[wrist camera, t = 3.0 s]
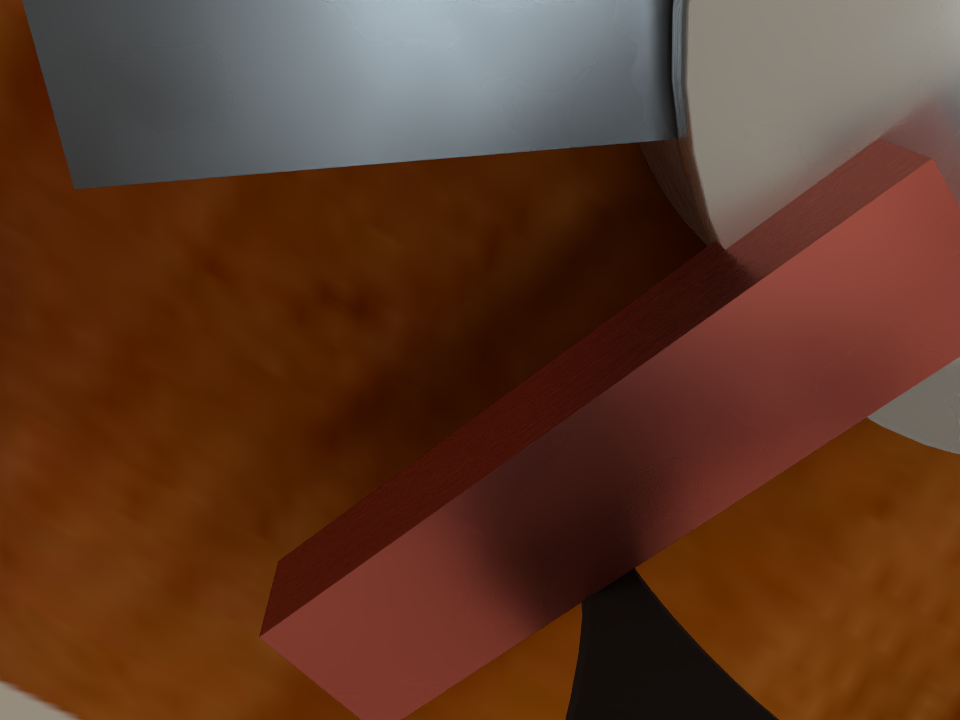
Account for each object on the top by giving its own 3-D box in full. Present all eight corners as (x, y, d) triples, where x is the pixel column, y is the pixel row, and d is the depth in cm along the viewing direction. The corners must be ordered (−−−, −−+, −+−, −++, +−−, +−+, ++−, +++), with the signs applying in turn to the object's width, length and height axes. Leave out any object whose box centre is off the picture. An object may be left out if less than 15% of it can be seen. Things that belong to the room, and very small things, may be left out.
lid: (1671, -1202, 7) (2130, -1638, 5) (1778, 75, 11) (2037, 94, 9) (11, 308, 11) (-69, 373, 9) (566, 792, 16) (583, 899, 14)
